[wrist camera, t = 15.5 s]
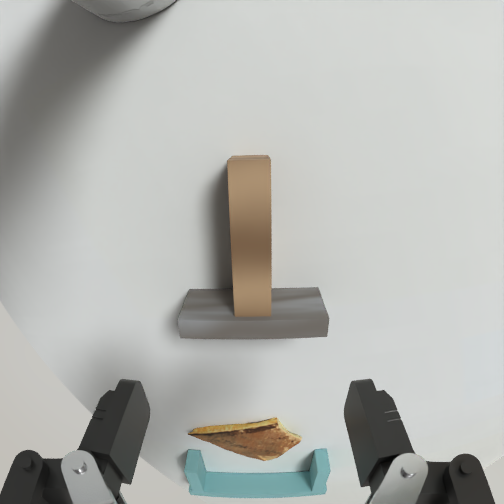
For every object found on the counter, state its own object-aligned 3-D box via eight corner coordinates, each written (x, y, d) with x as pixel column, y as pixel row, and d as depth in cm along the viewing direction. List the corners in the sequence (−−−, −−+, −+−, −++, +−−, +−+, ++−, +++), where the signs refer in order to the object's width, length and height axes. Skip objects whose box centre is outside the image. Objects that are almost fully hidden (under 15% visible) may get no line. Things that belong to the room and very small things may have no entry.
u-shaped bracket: (184, 449, 33) (180, 471, 30) (330, 448, 32) (334, 470, 29) (193, 475, 35) (190, 494, 32) (322, 474, 35) (325, 494, 32)
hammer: (178, 158, 21) (159, 165, 17) (323, 155, 21) (339, 161, 16) (191, 305, 25) (180, 338, 21) (316, 303, 25) (327, 336, 21)
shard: (189, 424, 31) (187, 436, 30) (222, 390, 29) (221, 403, 27) (267, 454, 34) (267, 465, 32) (307, 424, 31) (308, 436, 29)
